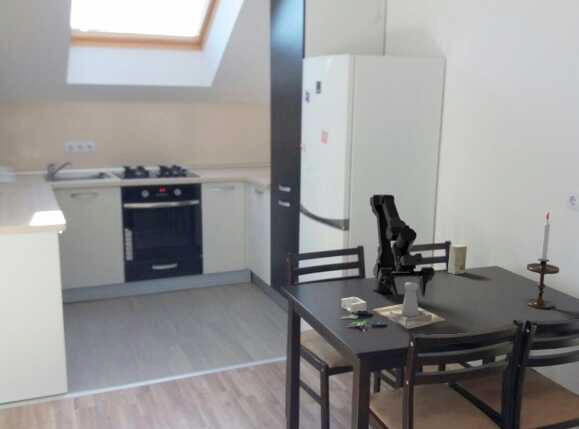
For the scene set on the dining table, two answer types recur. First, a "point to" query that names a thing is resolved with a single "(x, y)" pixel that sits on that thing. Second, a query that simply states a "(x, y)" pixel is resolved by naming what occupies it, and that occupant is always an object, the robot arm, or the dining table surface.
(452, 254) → the skincare box
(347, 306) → the end cap
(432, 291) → the dining table surface
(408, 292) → the salt shaker
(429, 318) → the board
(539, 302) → the candlestick
